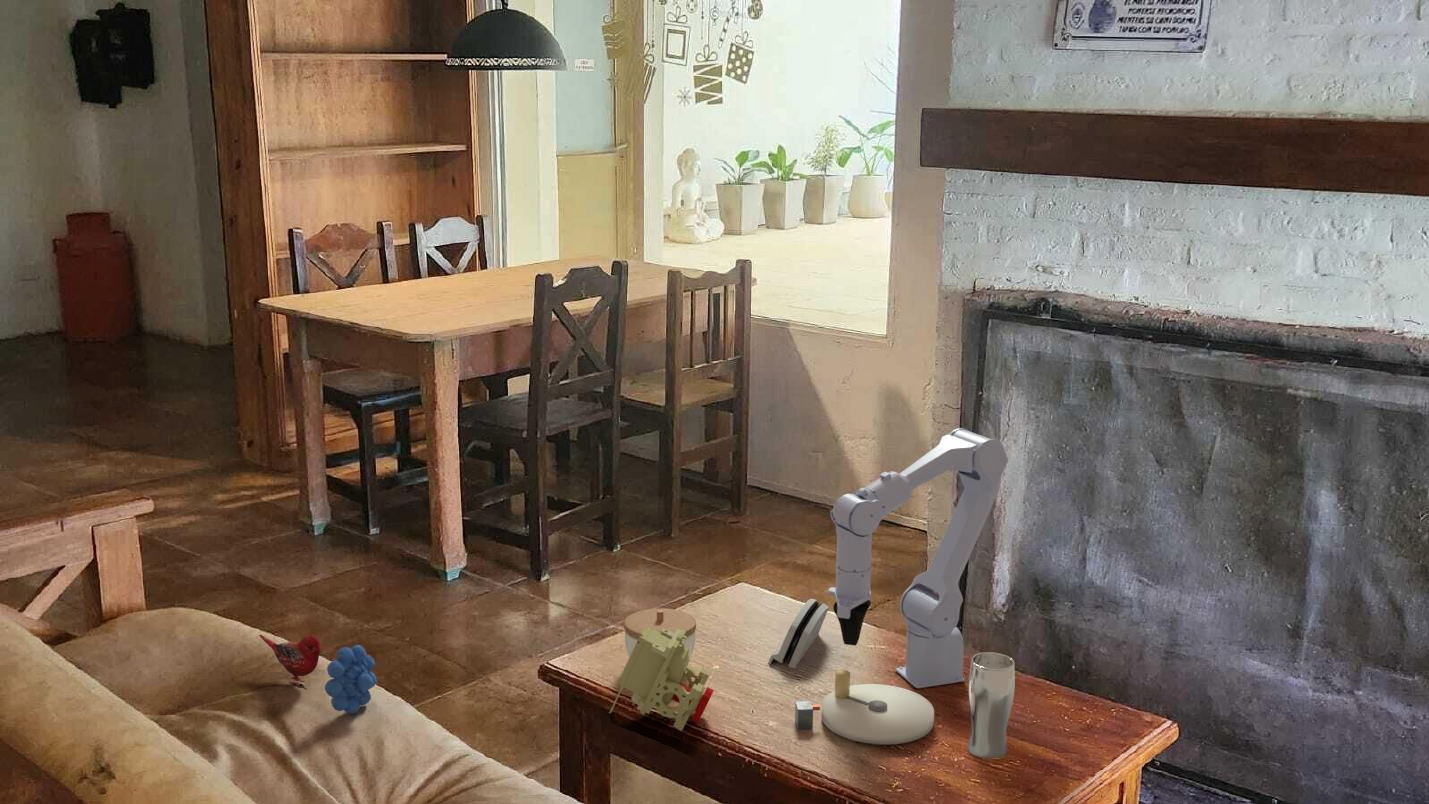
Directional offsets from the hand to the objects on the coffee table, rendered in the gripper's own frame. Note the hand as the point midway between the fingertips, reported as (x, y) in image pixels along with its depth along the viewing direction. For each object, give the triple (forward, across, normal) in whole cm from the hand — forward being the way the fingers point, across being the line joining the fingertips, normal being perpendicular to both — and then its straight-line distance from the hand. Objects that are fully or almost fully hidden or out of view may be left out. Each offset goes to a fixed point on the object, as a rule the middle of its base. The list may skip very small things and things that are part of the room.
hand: (850, 643), depth 224 cm
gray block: (+9, +13, -5) cm, 17 cm away
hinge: (+10, -16, -12) cm, 22 cm away
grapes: (+10, +33, -74) cm, 82 cm away
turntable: (+9, +9, +6) cm, 14 cm away
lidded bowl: (+10, 0, -34) cm, 35 cm away
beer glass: (+10, +12, +24) cm, 29 cm away
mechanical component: (+10, +18, -24) cm, 32 cm away
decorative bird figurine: (+10, +25, -92) cm, 96 cm away
